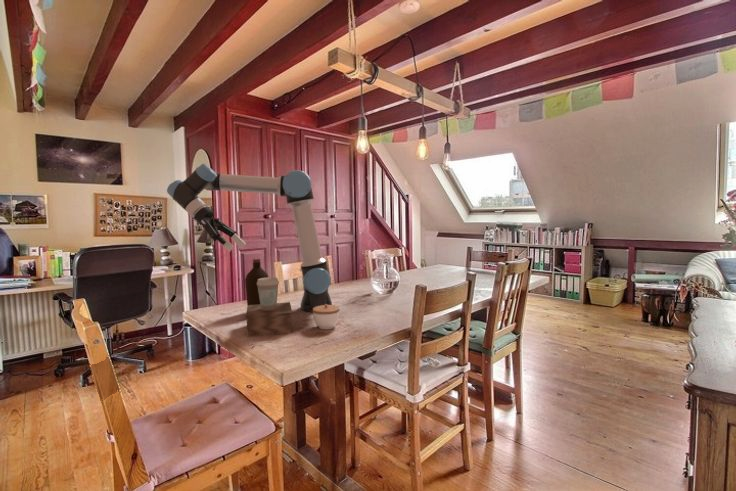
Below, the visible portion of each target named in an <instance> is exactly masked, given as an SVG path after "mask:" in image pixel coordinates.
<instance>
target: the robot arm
mask: <svg viewBox="0 0 736 491" xmlns="http://www.w3.org/2000/svg"><path fill="white" fill-rule="evenodd" d="M204 190H206V191H212V192H213V191H224V192H237V193H238V192H239V193H255V194H256V193H259V194H272V195H274V194H275V195H278V196H279V197H283V198H284V197H285V200H286V203H287V205H288V206H289V207H290V208H291V211H292V215H293V220H294V224H295V229H296V234H297V239H298V243H299V249H300V253H301V259H302V262H301V263H300V269H301V270H300V271H301V274H302V280H303V293H302V294H303V295H302V298H301V300H300V301H301V302H300V309H301V310H302V311H306V312H313V308H314V307H316V306H321V305H325V304H327V305H333V302H332V299H331V296H330V293H329V287H330V286H331V282H332V277H331V275H330V272H329V265H328V260H327V259H326V258H324V257H323V254H322V248H321V246H320V240H319V235H318V230H317V225H316V221H315V220H316V219H315V216H314V211H313V206H312V203H313V202H314V201H315V198H314V194H313V188H312V180H311V177H310V176H309V175H308V173H307V172H305V171H302V170H298V169H293V170H291V171H288V172H287V173H286V174H285V175H279V176H278V177H274V176H260V175H257V176H256V175H246V174H245V175H243V174H242V175H241V174H230V173H229V174H228V173H227V174H225V173H216V171H215V170H213V169H212V168H211V167H210V166H208V164H206V163H201V164H200V165H199V166H197V167H196V168H195V170H193V171H192V173H191V174H190V175H188V176H187V177H186V178H185V179H184V180H181V179H177V180H174V181H173V182H171V183H169V184H168V186H167V188H166V192H167V194H168V195H169V196H170V197H171V199H172V200H173V201H174V202H176V203H177V204H178V205H179V206H180V207H181V208H182V209H183V210H184V211H185V212H187V215H188V216H191V217H192V218H193V219H194V220H195V221H196V222H197V224H199V225H201V226H202V227H203V228H204V230H205V231H206V232H207V234H208V236H209V237H210V239H212V241H213V242H216V241H217V242H218V243H219V244H220V245H221V246H222V247H223V248H224V249H226V250H227V251H228V252H229V253H230V252H232V250H233V249H234V248H235V246H234V245H233V244H232V243H231V242H230V241H229V240H228V239H227V238H226V237H225V236H224V235H222V234H221V233H220V232H222V233H223V234H225V235H227V236H228V237H230V239H231V240H232V241H233V242H234V243H235V244H236V246H238V247H239V248H240V249H243V248H244V247H245V246H246V245H247V243H246V242H245V241H244V240H243V239H241V237H240V236H238V235H237V230H234V229H233V228H231V227H230V226H229V225H227V224H226V223H225V222H223V221H222V220H221V219H220V218H219V217H217V218H215V217H214V215H215V211H214V210H212V209H211V207H209V206H208V204H207V203H205V201H203V200H202V199H201V198H200V197H199V196H198V195H199V194H201V192H203V191H204Z"/></svg>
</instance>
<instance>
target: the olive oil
mask: <svg viewBox="0 0 736 491" xmlns="http://www.w3.org/2000/svg"><path fill="white" fill-rule="evenodd" d="M261 263H262V262H261V259H260V258H253V259H252V269H251V270H250V271H249V272H248V273H247V275H246V276H245V278H244V280H245V281H244V282H245V293H246V304H247V307H248V305H258V304H260V299H259V292H258V286H257V281H258V279H260V278H267V277H269V275H268V273H267V272H266V271H265V270H264V269H263V267H261V266H262V265H261Z"/></svg>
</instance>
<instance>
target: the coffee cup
mask: <svg viewBox="0 0 736 491" xmlns="http://www.w3.org/2000/svg"><path fill="white" fill-rule="evenodd" d="M279 284H280V281H279V279H278V278H277V277H274V276H273V277H269V276H268V277H267V278H260V279H258V281H257V286H258V292H259V299H260V305H261V310H264V311H269V310H274V309H276V305H277V303H278V294H279V293H278V292H279Z"/></svg>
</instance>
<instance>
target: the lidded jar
mask: <svg viewBox="0 0 736 491" xmlns="http://www.w3.org/2000/svg"><path fill="white" fill-rule="evenodd" d="M340 308H341V307H339V306H338V305H335V304H334V305H333V304H332V305H327V304H325V305H321V306H316V307H314V308H313V311H312V316H313V317H312V318H313V322H314V323H315V325H316V326H317V327H318V329H320V330H332V329H334V328H335V326H336V325H337V324H338V323H339V319H340Z"/></svg>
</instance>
